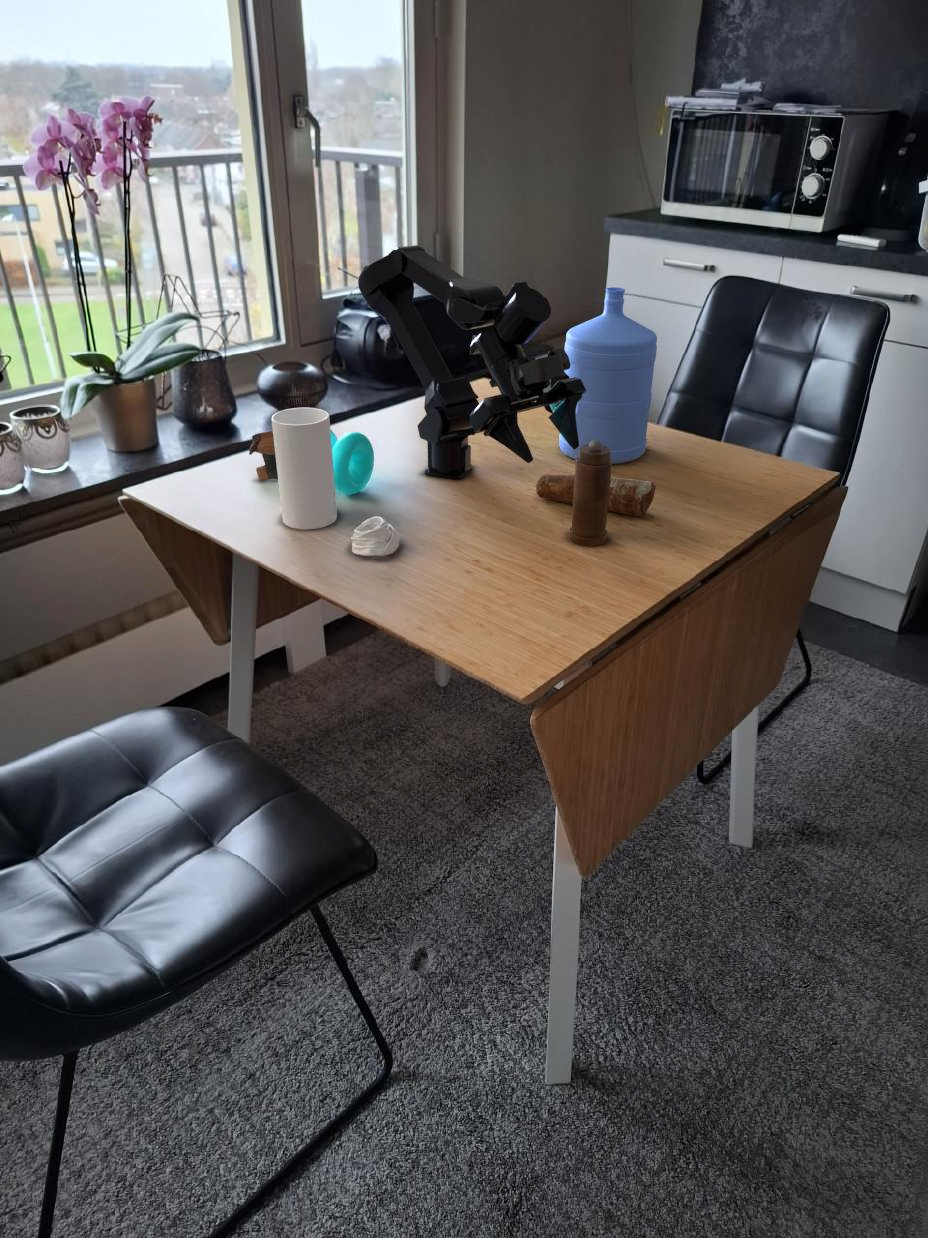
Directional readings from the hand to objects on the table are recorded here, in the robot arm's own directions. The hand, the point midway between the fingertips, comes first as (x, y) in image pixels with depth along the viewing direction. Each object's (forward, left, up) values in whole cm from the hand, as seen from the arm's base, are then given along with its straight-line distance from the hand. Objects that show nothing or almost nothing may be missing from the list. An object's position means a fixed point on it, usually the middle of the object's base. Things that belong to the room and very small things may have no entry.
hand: (554, 454), depth 129 cm
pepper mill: (+7, -4, -10) cm, 13 cm away
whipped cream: (-20, -19, -11) cm, 30 cm away
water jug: (0, +33, -11) cm, 34 cm away
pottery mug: (-48, +2, -11) cm, 50 cm away
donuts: (-36, -1, -11) cm, 38 cm away
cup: (-34, -13, -11) cm, 38 cm away
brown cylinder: (+5, +7, -11) cm, 14 cm away
